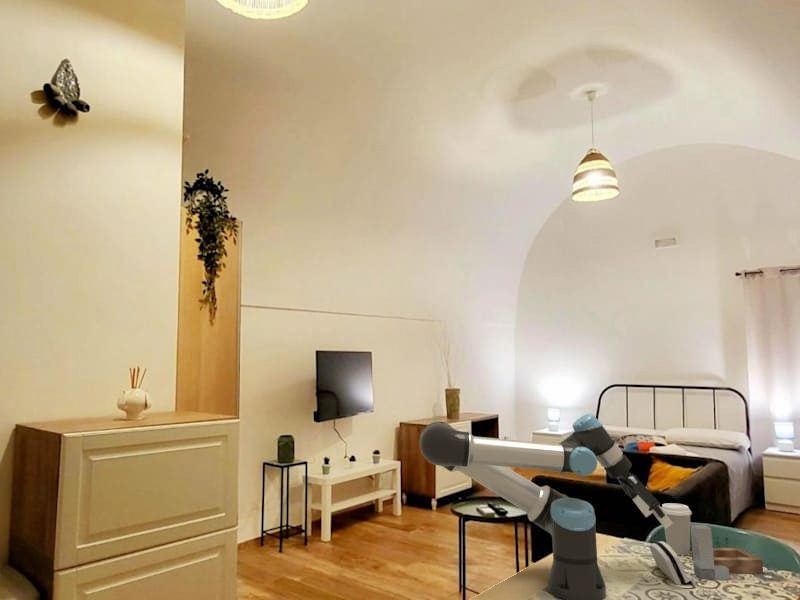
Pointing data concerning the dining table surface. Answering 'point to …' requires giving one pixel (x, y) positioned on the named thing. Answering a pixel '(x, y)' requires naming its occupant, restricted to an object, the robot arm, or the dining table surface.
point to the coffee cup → (678, 527)
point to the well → (737, 561)
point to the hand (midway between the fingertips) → (658, 520)
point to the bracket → (706, 555)
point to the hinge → (669, 563)
